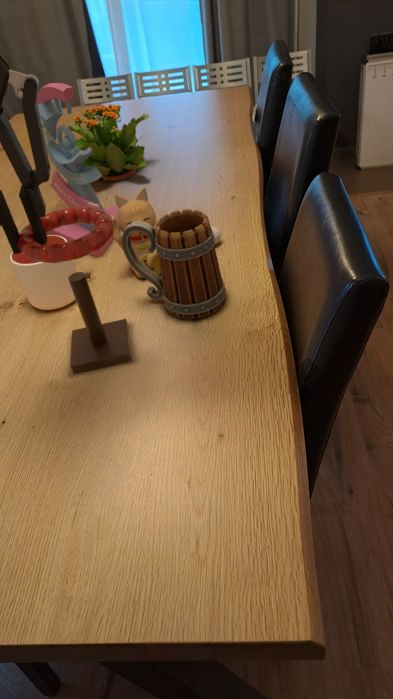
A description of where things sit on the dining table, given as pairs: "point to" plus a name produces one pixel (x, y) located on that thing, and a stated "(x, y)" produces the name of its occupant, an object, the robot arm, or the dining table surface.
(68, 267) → the cup
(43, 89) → the trophy
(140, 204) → the figurine
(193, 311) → the mug
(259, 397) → the dining table surface
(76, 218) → the ring
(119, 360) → the stand
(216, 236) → the egg
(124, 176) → the potted flower
